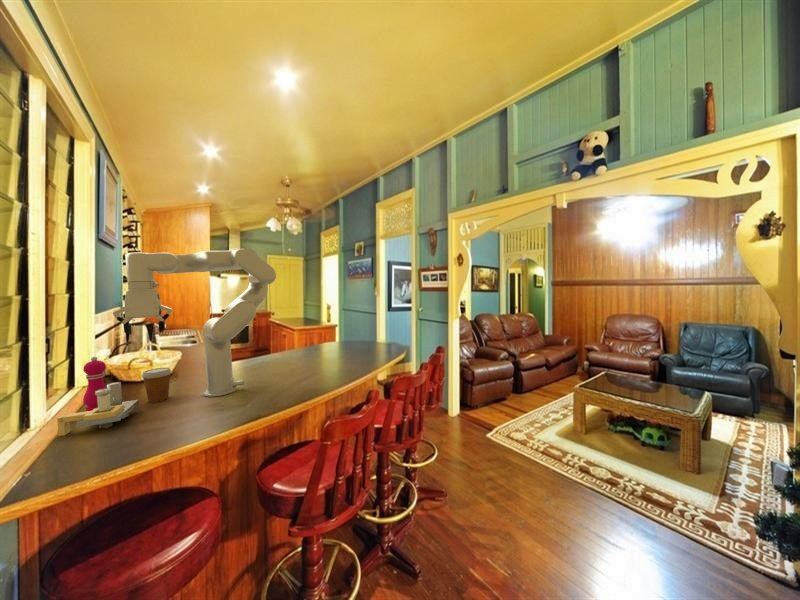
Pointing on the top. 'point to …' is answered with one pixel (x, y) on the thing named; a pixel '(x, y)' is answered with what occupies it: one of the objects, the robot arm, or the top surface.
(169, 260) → the robot arm
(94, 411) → the bracket
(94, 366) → the pepper mill
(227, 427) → the top surface
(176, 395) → the top surface
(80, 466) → the top surface
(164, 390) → the disposable coffee cup
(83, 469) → the top surface
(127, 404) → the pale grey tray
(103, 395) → the steel pin
